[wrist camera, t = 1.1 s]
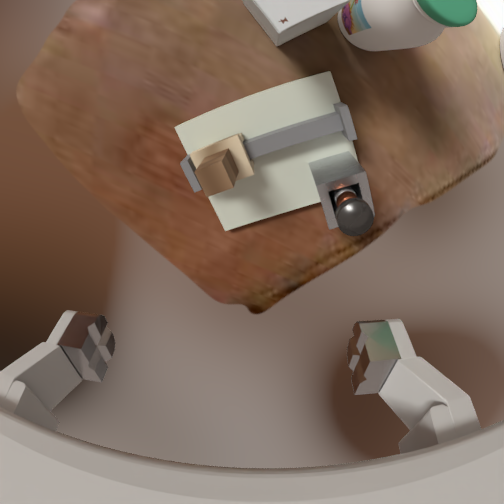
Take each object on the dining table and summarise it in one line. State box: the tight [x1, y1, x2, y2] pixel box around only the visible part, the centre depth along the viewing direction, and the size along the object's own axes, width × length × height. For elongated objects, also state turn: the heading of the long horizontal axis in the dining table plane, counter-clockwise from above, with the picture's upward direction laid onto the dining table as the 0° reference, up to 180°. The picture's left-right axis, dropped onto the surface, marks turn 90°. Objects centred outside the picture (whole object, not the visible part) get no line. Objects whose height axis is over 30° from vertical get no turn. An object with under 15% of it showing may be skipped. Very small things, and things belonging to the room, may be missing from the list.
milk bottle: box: [338, 0, 477, 51], centre depth 18 cm, size 8×8×20 cm
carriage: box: [190, 133, 255, 197], centre depth 33 cm, size 6×5×8 cm
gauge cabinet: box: [309, 151, 375, 229], centre depth 34 cm, size 5×6×9 cm
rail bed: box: [175, 71, 358, 231], centre depth 35 cm, size 20×16×5 cm
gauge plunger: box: [331, 185, 374, 236], centre depth 31 cm, size 4×4×8 cm
